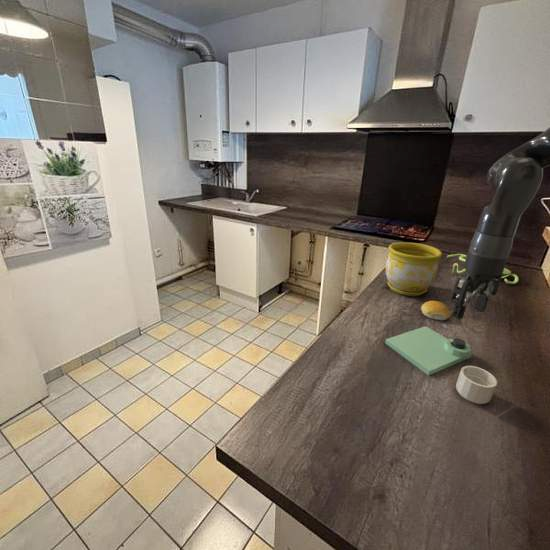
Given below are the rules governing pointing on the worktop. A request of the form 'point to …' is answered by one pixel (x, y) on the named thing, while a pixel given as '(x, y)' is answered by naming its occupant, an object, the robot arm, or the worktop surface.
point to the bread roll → (435, 310)
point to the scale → (428, 349)
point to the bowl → (476, 384)
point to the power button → (458, 343)
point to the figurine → (466, 270)
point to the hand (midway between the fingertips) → (468, 314)
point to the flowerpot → (411, 267)
